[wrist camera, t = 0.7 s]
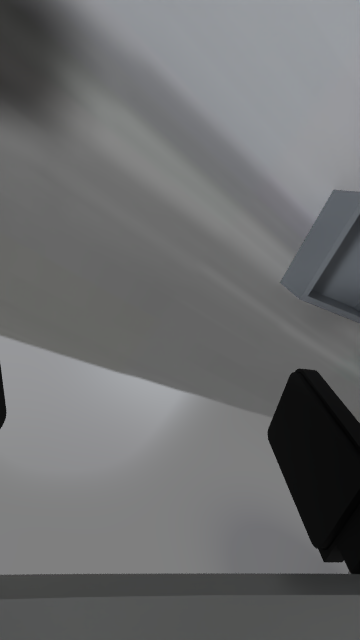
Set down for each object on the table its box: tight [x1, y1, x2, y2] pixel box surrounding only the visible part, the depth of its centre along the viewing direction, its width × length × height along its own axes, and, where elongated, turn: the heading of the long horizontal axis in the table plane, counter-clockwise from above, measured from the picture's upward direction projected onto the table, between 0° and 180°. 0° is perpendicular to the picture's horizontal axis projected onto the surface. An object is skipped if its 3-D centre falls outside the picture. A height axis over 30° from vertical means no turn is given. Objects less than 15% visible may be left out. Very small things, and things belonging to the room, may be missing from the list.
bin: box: [280, 190, 360, 323], centre depth 36 cm, size 12×12×6 cm
